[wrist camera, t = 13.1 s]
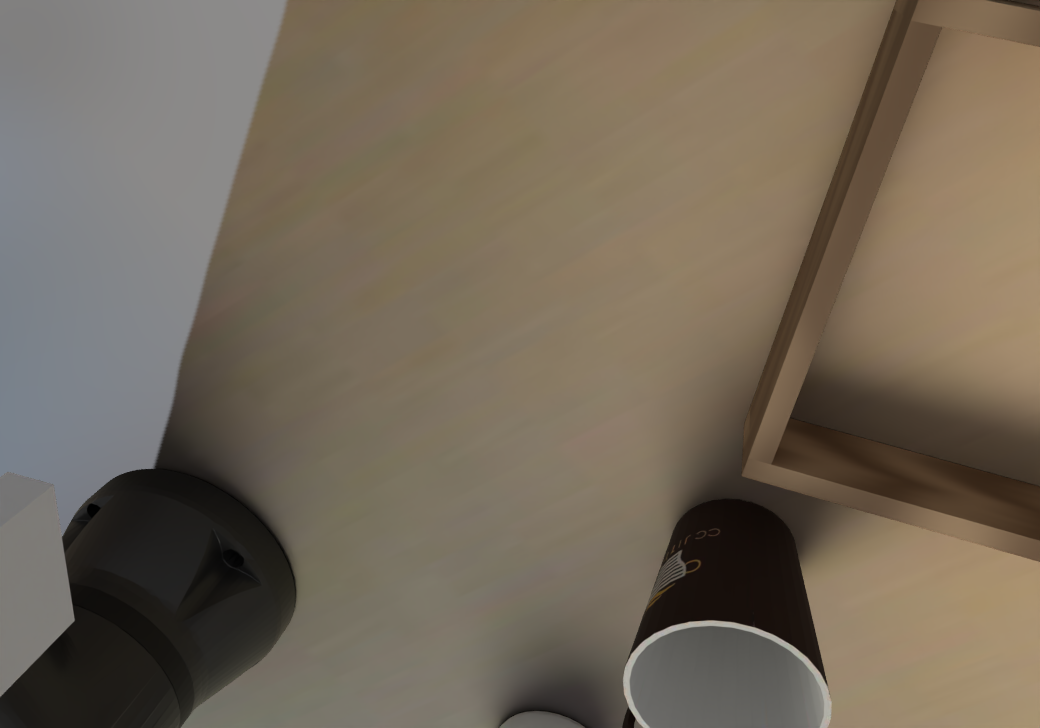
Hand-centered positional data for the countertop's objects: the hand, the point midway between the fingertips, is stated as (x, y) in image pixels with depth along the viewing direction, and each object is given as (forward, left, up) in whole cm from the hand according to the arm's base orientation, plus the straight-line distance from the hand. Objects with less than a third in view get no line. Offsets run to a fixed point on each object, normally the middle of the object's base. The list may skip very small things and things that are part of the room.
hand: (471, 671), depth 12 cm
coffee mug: (+7, -20, -29) cm, 36 cm away
